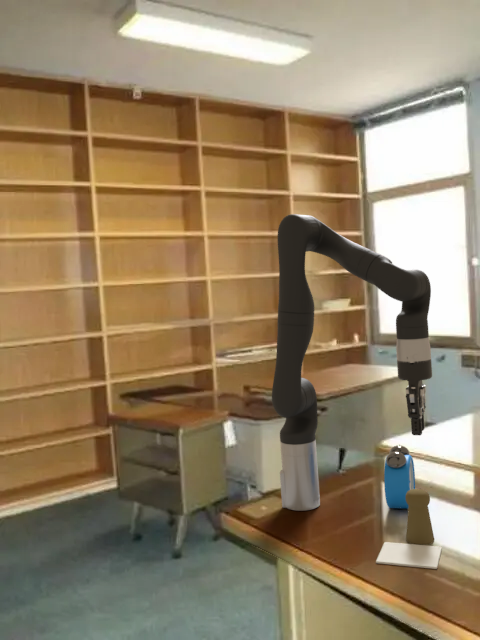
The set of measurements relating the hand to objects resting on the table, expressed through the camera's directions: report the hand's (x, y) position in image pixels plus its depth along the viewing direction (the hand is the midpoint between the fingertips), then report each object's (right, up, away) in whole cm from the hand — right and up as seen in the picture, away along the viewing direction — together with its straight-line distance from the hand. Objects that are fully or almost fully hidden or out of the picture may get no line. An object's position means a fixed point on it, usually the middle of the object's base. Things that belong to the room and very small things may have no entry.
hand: (418, 432), depth 149 cm
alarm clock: (0, -22, +15) cm, 26 cm away
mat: (-5, -23, -13) cm, 27 cm away
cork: (-1, -23, -5) cm, 23 cm away
